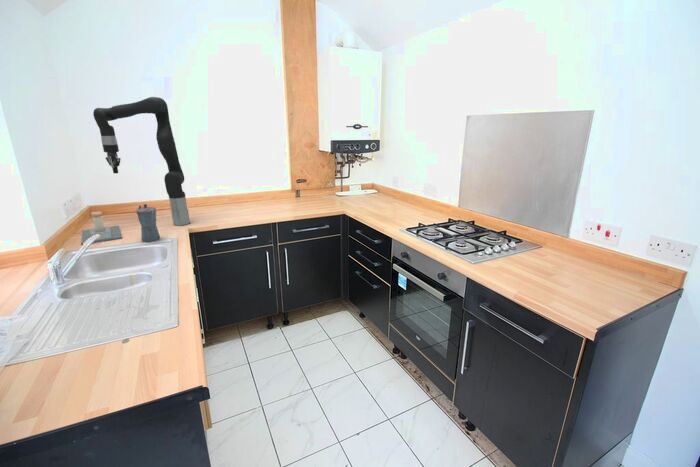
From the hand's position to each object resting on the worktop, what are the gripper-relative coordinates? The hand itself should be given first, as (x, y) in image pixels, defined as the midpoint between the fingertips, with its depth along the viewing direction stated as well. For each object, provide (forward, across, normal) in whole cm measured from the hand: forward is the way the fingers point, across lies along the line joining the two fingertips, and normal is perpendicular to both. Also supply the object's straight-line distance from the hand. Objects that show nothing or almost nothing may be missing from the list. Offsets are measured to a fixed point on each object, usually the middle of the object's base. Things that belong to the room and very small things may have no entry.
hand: (116, 173), depth 206 cm
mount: (+31, +19, -23) cm, 43 cm away
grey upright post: (+31, +18, -22) cm, 42 cm away
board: (+32, +13, -20) cm, 40 cm away
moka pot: (+32, +44, -10) cm, 55 cm away
